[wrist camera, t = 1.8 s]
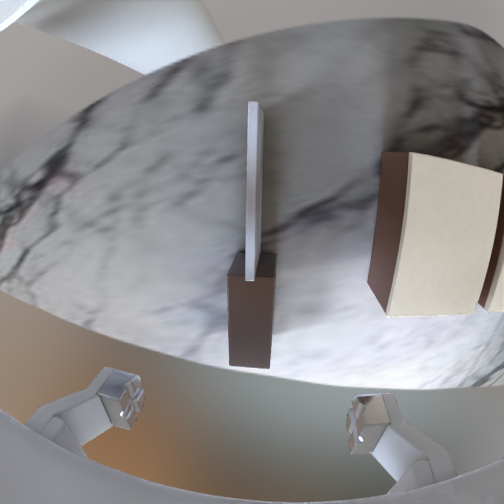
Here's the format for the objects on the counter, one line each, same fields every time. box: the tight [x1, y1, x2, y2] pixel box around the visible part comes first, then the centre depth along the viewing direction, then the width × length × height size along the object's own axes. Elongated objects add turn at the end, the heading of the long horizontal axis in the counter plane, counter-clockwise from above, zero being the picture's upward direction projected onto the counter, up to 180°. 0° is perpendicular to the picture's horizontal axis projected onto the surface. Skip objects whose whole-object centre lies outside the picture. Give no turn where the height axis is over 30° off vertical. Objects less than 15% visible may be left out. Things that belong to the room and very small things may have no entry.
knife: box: [227, 101, 277, 369], centre depth 14 cm, size 13×2×4 cm, turn 179°
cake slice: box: [478, 175, 504, 313], centre depth 12 cm, size 8×3×4 cm, turn 179°
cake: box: [367, 152, 503, 317], centre depth 13 cm, size 8×6×4 cm
